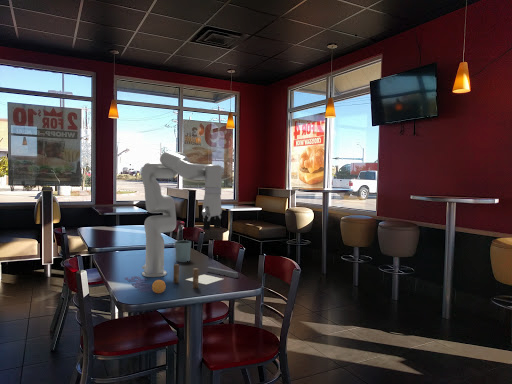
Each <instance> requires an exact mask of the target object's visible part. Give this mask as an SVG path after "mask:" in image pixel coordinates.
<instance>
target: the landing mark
mask: <svg viewBox="0 0 512 384" xmlns="http://www.w3.org/2000/svg"><path fill="white" fill-rule="evenodd" d="M185 281H189V282H192V283H193V277H189V278H186V279H185ZM220 281H224V278H222V277H217V276H213V275H207V274H200V275H199V278H198V284H201V285H210V284H213V283H216V282H220Z"/></svg>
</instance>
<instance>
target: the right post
mask: <svg viewBox="0 0 512 384" xmlns="http://www.w3.org/2000/svg"><path fill="white" fill-rule="evenodd" d="M199 272H200V269H199V268H192V278H193V282H192V289H199V283H198V278H199V276H200V275H199V274H200V273H199Z"/></svg>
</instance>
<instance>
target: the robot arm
mask: <svg viewBox="0 0 512 384" xmlns="http://www.w3.org/2000/svg"><path fill="white" fill-rule="evenodd" d="M159 159H160V162H159V161H149V162H146V163H145V164H144V165H143V166H142V169H141V172H140V173H141V175H140V176H141V181H142V183H143V188H144V200H145V210H146V211H147V212H148V213H150V214H159V215H150V216H148V217H146V218H145V220H144V224H143V225H144V232H145V233H144V234H145V264H143V266H141V269H143V270H144V271H142V272H141V273H142V274H141V275H142V276H143V277H147V278H160V277H165V276H166V275H167V271H166V270H165V240H164V237H163V235H162V234H163V233H171V232H173V231H174V230H175V229H176V228H177V213H176V204H175V200H174V198H173V197H172V196H170V195H168V194H167V195H165V194H164V195H163V194H162V188H161V184H160V183H159V182H158V180H157V179H173V178H174V177H176V176H177V175H178V176H179V177H182V178H184V179H186V180H191V181H204V195H203V201H202V211H201V215H202V221H203V230H205V231H210V230H211V218H213V217H214V219H213V228H218V229H219V228H221V219H222V216H223V215H222V214H223V213H222V212H223V209H222V197H221V195H222V176H223V175H222V173H223V168H222V165H219V164H202V163H191V161H190V158H188V156H187V154H185V153H184V152H181V151H180V152H179V151H170V150H169V151H165V152H163V153H162V154H161V155H160V158H159ZM160 213H161V214H162V215H161V214H160Z"/></svg>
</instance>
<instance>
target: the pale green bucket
mask: <svg viewBox="0 0 512 384" xmlns="http://www.w3.org/2000/svg"><path fill="white" fill-rule="evenodd" d="M174 246H175V248H174V249H175V261H176V262H178V263H187V261H188V262H190V261H191V249H192V241H191V240H176V241H174Z"/></svg>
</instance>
